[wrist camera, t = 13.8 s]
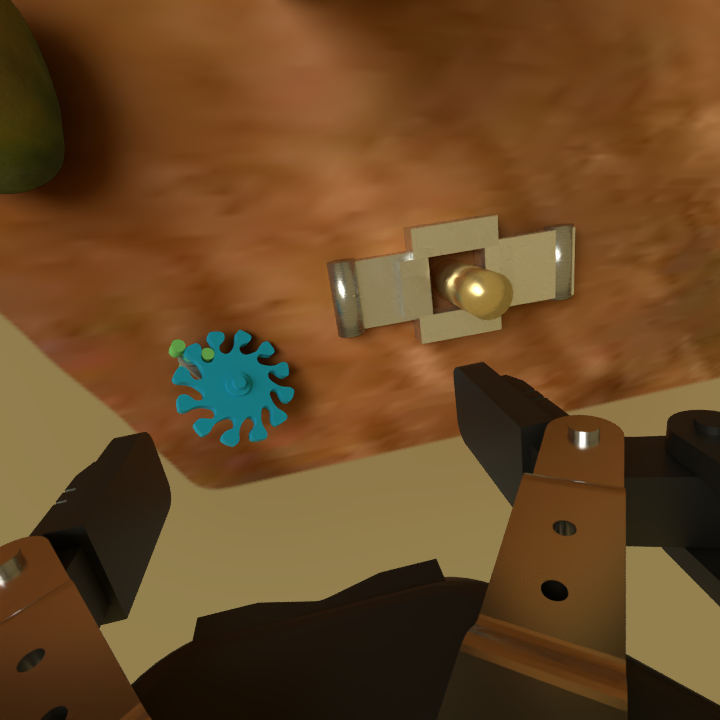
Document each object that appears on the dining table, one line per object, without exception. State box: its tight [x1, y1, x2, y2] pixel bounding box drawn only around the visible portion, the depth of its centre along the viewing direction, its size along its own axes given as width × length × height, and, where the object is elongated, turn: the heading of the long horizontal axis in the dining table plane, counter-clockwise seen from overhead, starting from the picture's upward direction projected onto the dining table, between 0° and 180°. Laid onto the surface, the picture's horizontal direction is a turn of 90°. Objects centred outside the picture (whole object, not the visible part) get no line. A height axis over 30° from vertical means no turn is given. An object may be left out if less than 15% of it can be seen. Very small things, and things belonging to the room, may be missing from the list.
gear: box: [169, 330, 294, 447], centre depth 39 cm, size 11×6×10 cm
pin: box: [430, 259, 513, 320], centre depth 37 cm, size 4×4×9 cm
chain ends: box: [327, 215, 575, 344], centre depth 40 cm, size 10×22×3 cm, turn 98°
